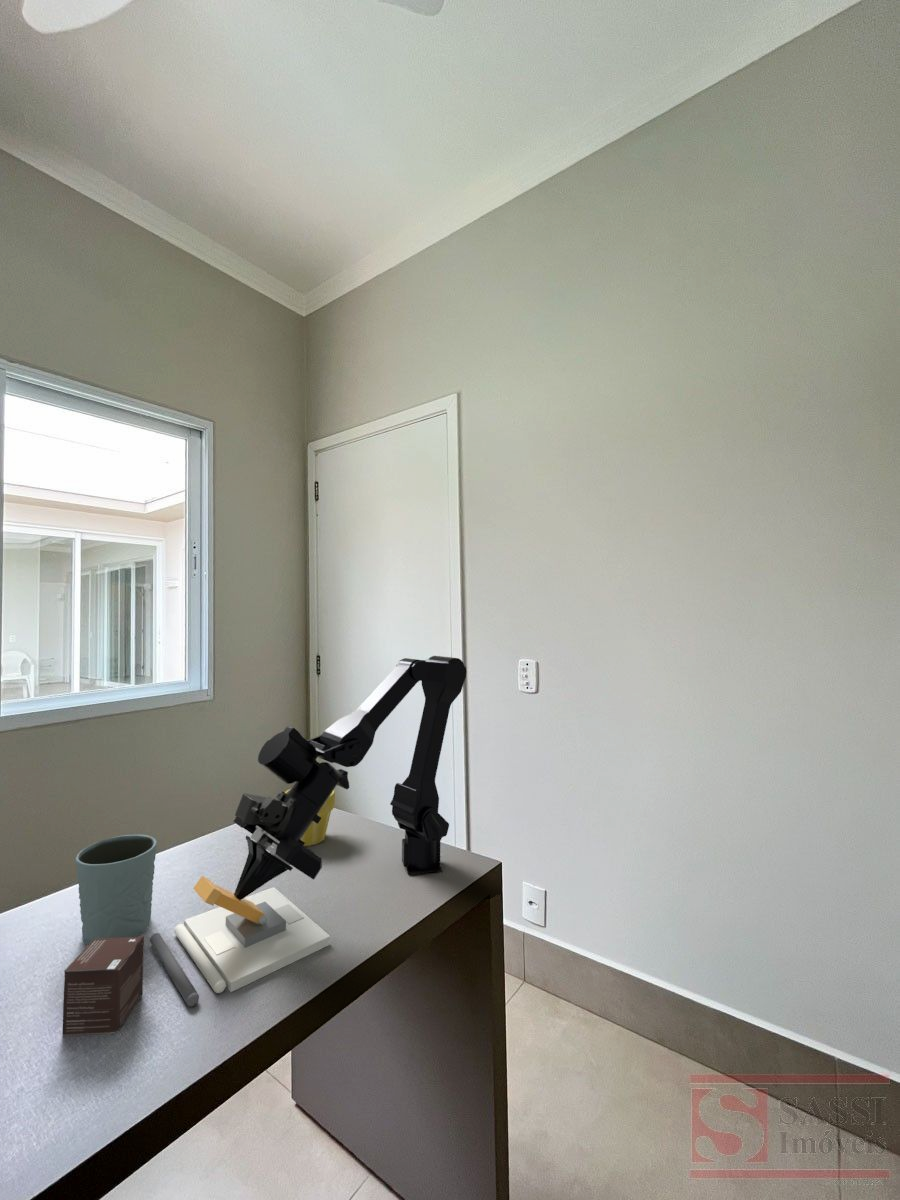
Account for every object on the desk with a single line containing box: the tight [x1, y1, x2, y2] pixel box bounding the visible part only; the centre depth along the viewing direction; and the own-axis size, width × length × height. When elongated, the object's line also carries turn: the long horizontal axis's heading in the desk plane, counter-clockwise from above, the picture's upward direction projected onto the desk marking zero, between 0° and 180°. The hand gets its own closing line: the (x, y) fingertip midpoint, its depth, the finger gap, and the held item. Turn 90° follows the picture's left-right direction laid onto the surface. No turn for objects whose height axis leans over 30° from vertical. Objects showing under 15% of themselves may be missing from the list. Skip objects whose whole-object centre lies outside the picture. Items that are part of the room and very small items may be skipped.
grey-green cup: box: [75, 833, 158, 946], centre depth 79 cm, size 10×10×12 cm
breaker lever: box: [193, 875, 267, 925], centre depth 75 cm, size 2×5×10 cm
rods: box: [149, 923, 227, 1007], centre depth 70 cm, size 17×5×1 cm, turn 43°
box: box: [61, 936, 145, 1037], centre depth 62 cm, size 6×6×7 cm
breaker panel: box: [183, 886, 331, 993], centre depth 77 cm, size 14×18×2 cm
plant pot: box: [284, 787, 336, 847], centre depth 110 cm, size 10×10×10 cm
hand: (237, 897), depth 75 cm, fingers closed
